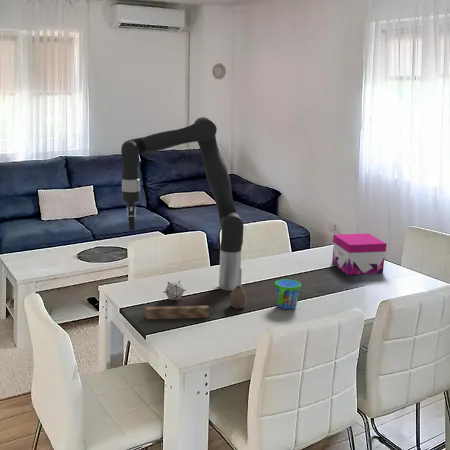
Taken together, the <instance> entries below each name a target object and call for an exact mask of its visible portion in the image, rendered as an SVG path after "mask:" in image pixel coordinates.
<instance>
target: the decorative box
mask: <svg viewBox="0 0 450 450" xmlns="http://www.w3.org/2000/svg"><path fill="white" fill-rule="evenodd" d="M332 243H333V249H332V259H331V260H332V262H331V263H332V265H334V266H335V267H336V266H337V268H338V269H339V270H340V269H341V270H340V271H341V272H343V273H344V272H345V273H344V274H345V275H347V276H353V275H352V274H359V275H369V274H368V273H378V274H384V266H385V264H384V263H385V257H386V256H385V255H386V252H387V243H386V242H384V241H383V240H381V239H380V238H377V237H376V236H374V235H372V234H371V233H345V234H343V233H340V234H339V233H338V234H333V238H332Z"/></svg>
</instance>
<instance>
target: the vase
mask: <svg viewBox="0 0 450 450" xmlns="http://www.w3.org/2000/svg"><path fill="white" fill-rule="evenodd" d="M247 296H248V295H247V294H246V292H245V290H244V288H243V286H242V285H241V286H236V287H235V289H234V290H233V291H231V292H230V294H229V303H230V304H229V305H230V306H231V307H232V308H233V309H236V310H241V309H243V308H244V307H245V306H246V304H247V300H248V297H247Z"/></svg>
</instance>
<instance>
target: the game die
mask: <svg viewBox="0 0 450 450" xmlns="http://www.w3.org/2000/svg"><path fill="white" fill-rule="evenodd" d="M180 282H181V280H178V281H175V282H174V281H173V282H169V281H167V286H166V287H165V288H166V289H165V291H163V293H165V295H166V296H167V298H168V302H171V301H180V302H181V301H183V300H182V297H183V295H184V292H186V291H187V290H186V289H184V287H183V286H182V285H181V283H180Z"/></svg>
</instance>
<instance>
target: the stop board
mask: <svg viewBox="0 0 450 450" xmlns="http://www.w3.org/2000/svg"><path fill="white" fill-rule="evenodd" d="M209 313H210V306H209V305H176V306H175V305H173V306H172V305H171V306H169V305H168V306H166V305H165V306H145V320H162V319H163V320H165V319H166V320H169V319H201V318H202V319H203V318H204V319H205V318H207V319H209V317H210V314H209Z"/></svg>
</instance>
